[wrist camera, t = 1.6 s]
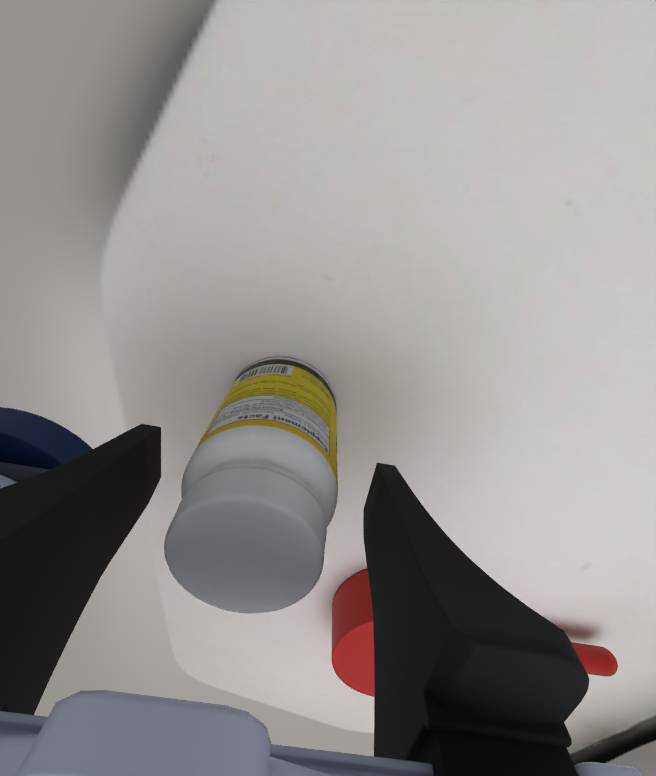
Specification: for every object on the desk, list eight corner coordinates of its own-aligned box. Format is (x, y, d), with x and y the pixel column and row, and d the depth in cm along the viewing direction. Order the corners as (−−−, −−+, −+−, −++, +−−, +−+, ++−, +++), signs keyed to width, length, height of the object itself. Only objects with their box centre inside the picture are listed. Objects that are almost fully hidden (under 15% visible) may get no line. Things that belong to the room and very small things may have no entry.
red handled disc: (322, 636, 24) (321, 691, 21) (345, 555, 21) (346, 607, 18) (572, 670, 25) (600, 726, 22) (627, 597, 22) (667, 652, 19)
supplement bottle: (297, 466, 19) (271, 647, 11) (210, 415, 18) (113, 577, 10) (359, 393, 17) (377, 548, 9) (266, 331, 16) (202, 450, 8)
